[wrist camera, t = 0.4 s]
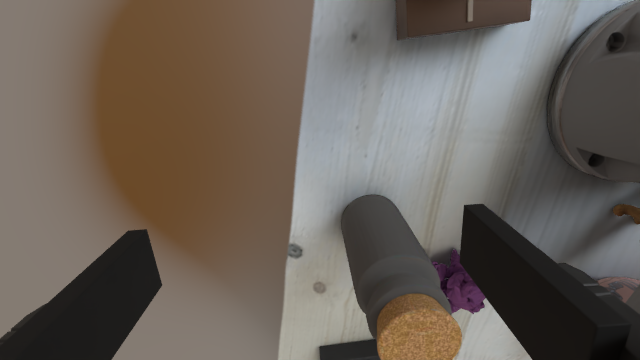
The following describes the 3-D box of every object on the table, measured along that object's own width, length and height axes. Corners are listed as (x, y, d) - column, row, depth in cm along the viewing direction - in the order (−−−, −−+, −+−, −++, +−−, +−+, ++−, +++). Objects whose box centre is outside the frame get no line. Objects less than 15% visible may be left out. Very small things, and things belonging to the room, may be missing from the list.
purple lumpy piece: (510, 311, 30) (439, 362, 30) (468, 275, 36) (409, 317, 36) (479, 261, 28) (403, 315, 28) (441, 231, 34) (379, 276, 34)
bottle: (335, 243, 33) (356, 378, 19) (347, 189, 31) (382, 294, 17) (391, 251, 33) (453, 389, 19) (406, 199, 31) (488, 309, 17)
